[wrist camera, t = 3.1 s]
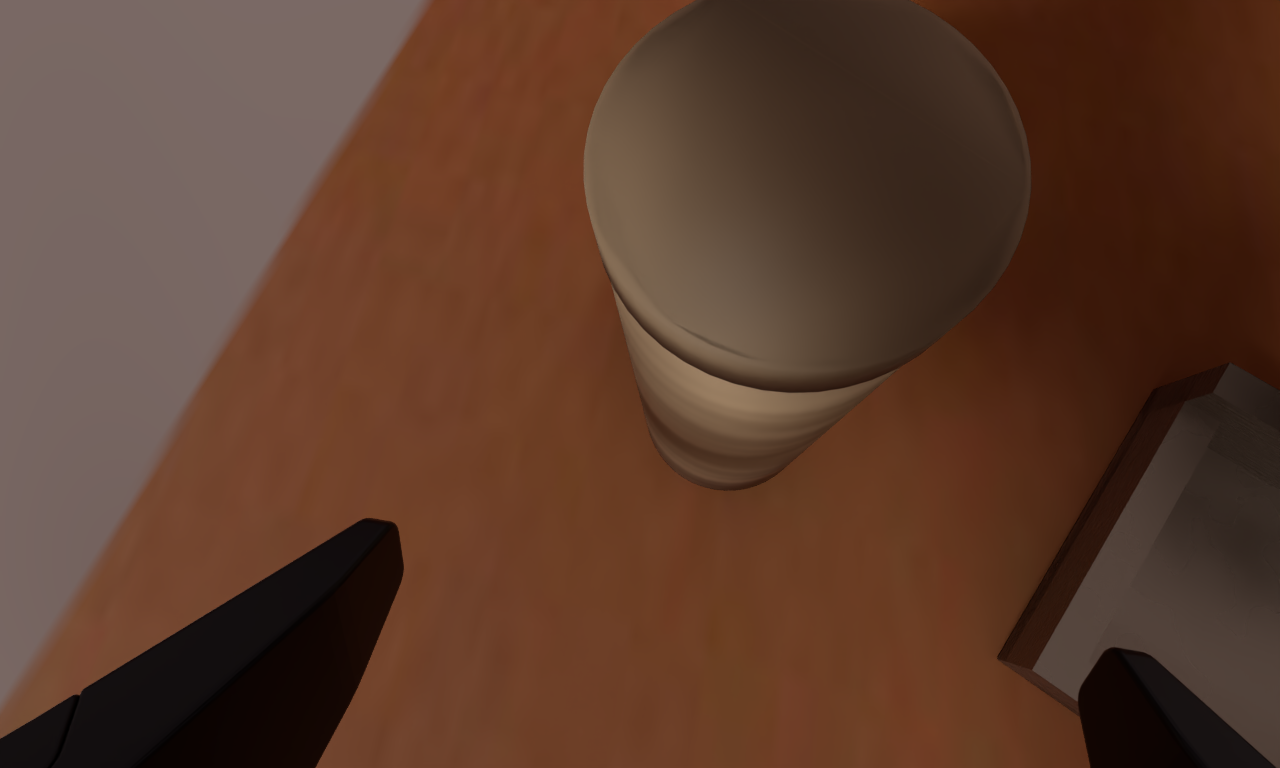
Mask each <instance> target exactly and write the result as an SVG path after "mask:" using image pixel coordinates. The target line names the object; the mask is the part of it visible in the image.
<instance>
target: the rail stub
mask: <svg viewBox="0 0 1280 768" xmlns="http://www.w3.org/2000/svg"><path fill="white" fill-rule="evenodd" d="M584 187H585V194H586V201H587V207H588V211H589V215H590V219H591V222H592V226H593V230H594V234H595V237H596V241H597V245H598V248H599V252H600V255H601V258H602V262H603V265H604V268H605V270H606V273H607V275H608V277H609V279H610V281H611V284H612V288H613V292H614V296H615V300H616V304H617V308H618V312H619V316H620V319H621V323H622V327H623V331H624V335H625V339H626V343H627V347H628V351H629V355H630V359H631V363H632V367H633V370H634V374H635V378H636V382H637V386H638V390H639V394H640V398H641V402H642V406H643V410H644V414H645V418H646V421H647V425H648V429H649V433H650V436H651V439H652V441H653V443H654V445H655V447H656V449H657V451H658V452H659V454H660V456H661V457H662V458H663V459H664V461H665V462H666V463H667V464H668V465H669V466H670V467H671V468H672V469H673V470H674V471H675V472H677V473H678V474H679V475H681V476H682V477H683V478H685V479H687V480H689V481H691V482H692V483H695V484H697V485H700V486H703V487H706V488H710V489H715V490H724V491H727V490H741V489H747V488H750V487H753V486H757V485H759V484H761V483H763V482H766V481H767V480H769V479H771V478H772V477H774V476H775V475H777V474H778V473H779V472H780V471H782V470H783V469H784V468H785V467H786V466H787V465H789V464H790V463H791V462H792V461H793V460H794V459H795V458H797V457H798V456H799V455H800V454H801V453H802V452H803V451H805V450H806V449H807V448H808V447H809V446H810V445H812V444H813V443H814V442H815V441H816V440H817V439H818V438H820V437H821V436H822V435H823V434H824V433H825V432H826V431H828V430H829V429H830V428H831V427H832V426H833V425H834V424H836V423H837V422H838V421H839V420H840V419H841V418H843V417H844V416H845V415H846V414H847V413H848V412H849V411H851V410H852V409H853V408H854V407H855V406H856V405H857V404H859V403H860V402H861V401H862V400H863V399H864V398H865V397H867V396H868V395H869V394H870V393H871V392H872V391H874V390H875V389H876V388H877V387H878V386H879V385H880V384H882V383H883V382H884V381H885V380H886V379H887V378H888V377H890V376H891V375H892V374H893V373H894V372H895V371H896V370H898V369H899V368H900V367H901V366H903V365H904V364H906V363H907V362H909V361H911V360H912V359H914V358H916V357H917V356H919V355H920V354H921V353H923V352H924V351H925V350H926V349H928V348H929V347H930V346H931V345H932V344H934V343H935V342H936V341H937V340H938V339H940V338H941V337H942V336H943V335H944V334H946V333H947V332H948V331H949V330H950V329H951V328H953V327H954V326H955V325H956V324H957V323H959V322H960V321H961V320H962V319H963V318H964V317H966V316H967V315H968V314H969V313H970V312H971V311H973V310H974V309H975V307H976V306H977V305H978V304H979V303H980V302H981V301H982V300H983V299H984V298H985V297H986V295H987V294H988V293H989V292H990V291H991V290H992V289H993V287H994V286H995V284H996V283H997V281H998V280H999V278H1000V277H1001V275H1002V274H1003V273H1004V271H1005V270H1006V268H1007V267H1008V265H1009V263H1010V261H1011V259H1012V256H1013V254H1014V252H1015V250H1016V248H1017V246H1018V244H1019V242H1020V239H1021V236H1022V232H1023V229H1024V225H1025V222H1026V219H1027V215H1028V209H1029V201H1030V194H1031V160H1030V155H1029V149H1028V143H1027V137H1026V133H1025V130H1024V127H1023V124H1022V121H1021V118H1020V115H1019V112H1018V110H1017V107H1016V105H1015V103H1014V101H1013V99H1012V97H1011V95H1010V93H1009V91H1008V89H1007V87H1006V86H1005V84H1004V83H1003V81H1002V80H1001V78H1000V77H999V75H998V74H997V72H996V71H995V69H994V68H993V66H992V65H991V64H990V63H989V62H988V60H987V59H986V58H985V57H984V56H983V55H982V54H981V53H980V51H979V50H978V49H977V48H976V47H975V46H974V45H973V44H972V43H971V42H970V41H969V40H968V39H966V38H965V37H964V36H963V35H962V34H961V33H960V32H959V31H957V30H956V29H955V28H954V27H953V26H951V25H950V24H948V23H947V22H945V21H944V20H942V19H941V18H940V17H938V16H937V15H935V14H934V13H932V12H931V11H929V10H927V9H925V8H923V7H921V6H919V5H917V4H915V3H914V2H912V1H910V0H696V1H694V2H693V3H691V4H689V5H687V6H685V7H683V8H682V9H680V10H678V11H676V12H674V13H673V14H672V15H670V16H669V17H667V18H666V19H665V20H663V21H662V22H660V23H659V24H658V25H656V26H655V27H654V28H652V29H651V30H650V31H649V32H648V33H647V34H646V35H645V36H644V37H643V38H642V39H640V40H639V41H638V42H637V43H636V44H635V45H634V46H633V48H632V49H631V50H630V51H629V52H628V53H627V55H626V56H625V57H624V58H623V59H622V61H621V62H620V63H619V64H618V66H617V67H616V69H615V70H614V72H613V74H612V75H611V77H610V78H609V80H608V81H607V83H606V84H605V87H604V89H603V91H602V93H601V95H600V97H599V100H598V102H597V104H596V106H595V109H594V112H593V115H592V118H591V122H590V125H589V128H588V132H587V139H586V145H585V152H584Z"/></svg>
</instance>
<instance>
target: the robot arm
mask: <svg viewBox="0 0 1280 768" xmlns="http://www.w3.org/2000/svg"><path fill="white" fill-rule="evenodd" d="M403 571H404V563H403V557H402V550H401V543H400V537H399V531H398V527H397V526H396V524H395V523H393V522H391V521H385V520H379V519H373V518H365V519H362V520H360V521H358V522H357V523H355V524H353V525H352V526H350V527H348V528H347V529H345V530H344V531H342V532H340V533H339V534H337V535H335V536H334V537H332V538H330V539H329V540H327V541H325V542H324V543H322V544H321V545H319V546H317V547H316V548H314V549H312V550H311V551H309V552H307V553H306V554H304V555H303V556H301V557H299V558H298V559H296V560H294V561H293V562H291V563H289V564H288V565H286V566H284V567H283V568H281V569H280V570H278V571H276V572H275V573H273V574H271V575H270V576H268V577H266V578H265V579H263V580H262V581H260V582H258V583H257V584H255V585H253V586H252V587H250V588H248V589H247V590H245V591H244V592H242V593H240V594H239V595H237V596H235V597H234V598H232V599H230V600H229V601H227V602H225V603H224V604H222V605H221V606H219V607H217V608H216V609H214V610H212V611H211V612H209V613H207V614H206V615H204V616H203V617H201V618H199V619H198V620H196V621H194V622H193V623H191V624H189V625H188V626H186V627H184V628H183V629H181V630H180V631H178V632H176V633H175V634H173V635H171V636H170V637H168V638H166V639H165V640H163V641H162V642H160V643H158V644H157V645H155V646H153V647H152V648H150V649H148V650H147V651H145V652H143V653H142V654H140V655H139V656H137V657H135V658H134V659H132V660H130V661H129V662H127V663H125V664H124V665H122V666H121V667H119V668H117V669H116V670H114V671H112V672H111V673H109V674H107V675H106V676H104V677H103V678H101V679H99V680H98V681H96V682H94V683H93V684H91V685H89V686H88V687H86V688H85V689H83V690H82V692H81V694H80V695H73V696H71V697H69V698H68V699H66V700H64V701H63V702H61V703H59V704H58V705H56V706H55V707H53V708H51V709H50V710H48V711H46V712H45V713H43V714H41V715H40V716H38V717H36V718H35V719H33V720H31V721H30V722H28V723H26V724H25V725H23V726H21V727H20V728H18V729H16V730H14V731H13V732H11V733H9V734H8V735H6V736H4V737H3V738H1V739H0V768H315V767H316V766H317V764H318V762H319V760H320V758H321V756H322V754H323V753H324V751H325V749H326V747H327V745H328V743H329V741H330V739H331V738H332V736H333V734H334V732H335V730H336V728H337V726H338V725H339V723H340V721H341V719H342V717H343V715H344V713H345V712H346V710H347V708H348V706H349V704H350V702H351V700H352V698H353V696H354V694H355V692H356V690H357V688H358V686H359V683H360V681H361V679H362V677H363V674H364V672H365V670H366V667H367V665H368V662H369V660H370V657H371V655H372V652H373V650H374V647H375V645H376V643H377V640H378V638H379V635H380V633H381V630H382V628H383V625H384V623H385V621H386V618H387V616H388V613H389V611H390V608H391V606H392V603H393V601H394V599H395V596H396V594H397V591H398V589H399V586H400V584H401V581H402V577H403ZM1078 709H1079V714H1080V719H1081V723H1082V728H1083V733H1084V738H1085V743H1086V748H1087V753H1088V758H1089V762H1090V767H1091V768H1276V767H1275V766H1274V765H1273V764H1272V763H1271V762H1270V761H1269V760H1267V759H1266V758H1265V757H1264V756H1263V755H1262V754H1261V753H1260V752H1259V751H1257V750H1256V749H1255V748H1254V747H1253V746H1252V745H1251V744H1250V743H1249V742H1247V741H1246V740H1245V739H1244V738H1243V737H1242V736H1241V735H1240V734H1239V733H1237V732H1236V731H1235V730H1234V729H1233V728H1232V727H1231V726H1230V725H1228V724H1227V723H1226V722H1225V721H1224V720H1223V719H1222V718H1221V717H1220V716H1218V715H1217V714H1216V713H1215V712H1214V711H1213V710H1212V709H1211V708H1210V707H1208V706H1207V705H1206V704H1205V703H1204V702H1203V701H1202V700H1201V699H1200V698H1198V697H1197V696H1196V695H1195V694H1194V693H1193V692H1192V691H1191V690H1190V689H1188V688H1187V687H1186V686H1185V685H1184V684H1183V683H1182V682H1181V681H1179V680H1178V679H1177V678H1176V677H1175V676H1174V675H1173V674H1172V673H1171V672H1169V671H1168V670H1167V669H1166V668H1165V667H1164V666H1163V665H1162V664H1161V663H1159V662H1158V661H1157V660H1156V659H1155V658H1153V657H1152V656H1151V655H1149V654H1147V653H1144V652H1141V651H1135V650H1130V649H1124V648H1118V647H1111V648H1109V649H1107V650H1105V651H1104V652H1103V653H1102V655H1101V656H1100V658H1099V659H1098V661H1097V662H1096V664H1095V665H1094V667H1093V668H1092V670H1091V671H1090V673H1089V674H1088V676H1087V677H1086V679H1085V680H1084V682H1083V683H1082V685H1081V687H1080V690H1079V693H1078Z"/></svg>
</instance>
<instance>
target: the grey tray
mask: <svg viewBox="0 0 1280 768" xmlns="http://www.w3.org/2000/svg"><path fill="white" fill-rule="evenodd" d="M1111 647H1118V648H1124V649H1130V650H1135V651H1141V652H1144V653H1147V654H1149V655H1151V656H1152V657H1153V658H1155V659H1156V660H1157V661H1158V662H1159V663H1161V664H1162V665H1163V666H1164V667H1165V668H1166V669H1167V670H1168V671H1169V672H1171V673H1172V674H1173V675H1174V676H1175V677H1176V678H1177V679H1178V680H1179V681H1181V682H1182V683H1183V684H1184V685H1185V686H1186V687H1187V688H1188V689H1190V690H1191V691H1192V692H1193V693H1194V694H1195V695H1196V696H1197V697H1198V698H1200V699H1201V700H1202V701H1203V702H1204V703H1205V704H1206V705H1207V706H1208V707H1210V708H1211V709H1212V710H1213V711H1214V712H1215V713H1216V714H1217V715H1218V716H1220V717H1221V718H1222V719H1223V720H1224V721H1225V722H1226V723H1227V724H1228V725H1230V726H1231V727H1232V728H1233V729H1234V730H1235V731H1236V732H1237V733H1239V734H1240V735H1241V736H1242V737H1243V738H1244V739H1245V740H1246V741H1247V742H1249V743H1250V744H1251V745H1252V746H1253V747H1254V748H1255V749H1256V750H1257V751H1259V752H1260V753H1261V754H1262V755H1263V756H1264V757H1265V758H1266V759H1267V760H1269V761H1270V762H1271V763H1272V764H1273V765H1274V766H1275V767H1276V768H1280V390H1278V389H1276V388H1274V387H1273V386H1271V385H1269V384H1267V383H1266V382H1264V381H1262V380H1260V379H1259V378H1257V377H1255V376H1253V375H1252V374H1250V373H1248V372H1246V371H1245V370H1243V369H1241V368H1239V367H1237V366H1236V365H1234V364H1232V363H1230V362H1229V363H1227V364H1224V365H1221V366H1218V367H1215V368H1213V369H1210V370H1207V371H1204V372H1201V373H1199V374H1196V375H1193V376H1190V377H1187V378H1185V379H1182V380H1179V381H1176V382H1173V383H1171V384H1168V385H1165V386H1162V387H1159V388H1156V389H1154V390H1153V392H1152V393H1151V395H1150V397H1149V399H1148V400H1147V402H1146V404H1145V405H1144V407H1143V409H1142V411H1141V412H1140V414H1139V416H1138V418H1137V419H1136V421H1135V423H1134V424H1133V426H1132V428H1131V430H1130V431H1129V433H1128V435H1127V436H1126V438H1125V440H1124V442H1123V443H1122V445H1121V447H1120V448H1119V450H1118V452H1117V454H1116V455H1115V457H1114V459H1113V460H1112V462H1111V464H1110V466H1109V467H1108V469H1107V471H1106V472H1105V474H1104V476H1103V478H1102V479H1101V481H1100V483H1099V485H1098V486H1097V488H1096V490H1095V491H1094V493H1093V495H1092V497H1091V498H1090V500H1089V502H1088V503H1087V505H1086V507H1085V509H1084V510H1083V512H1082V514H1081V515H1080V517H1079V519H1078V521H1077V522H1076V524H1075V526H1074V527H1073V529H1072V531H1071V533H1070V534H1069V536H1068V538H1067V539H1066V541H1065V543H1064V545H1063V546H1062V548H1061V550H1060V551H1059V553H1058V555H1057V557H1056V558H1055V560H1054V562H1053V564H1052V565H1051V567H1050V569H1049V570H1048V572H1047V574H1046V576H1045V577H1044V579H1043V581H1042V582H1041V584H1040V586H1039V588H1038V589H1037V591H1036V593H1035V594H1034V596H1033V598H1032V600H1031V601H1030V603H1029V605H1028V606H1027V608H1026V610H1025V612H1024V613H1023V615H1022V617H1021V618H1020V620H1019V622H1018V624H1017V625H1016V627H1015V629H1014V630H1013V632H1012V634H1011V636H1010V637H1009V639H1008V641H1007V643H1006V644H1005V646H1004V648H1003V649H1002V651H1001V653H1000V655H999V656H998V658H997V659H998V660H999V661H1001V662H1002V663H1004V664H1005V665H1007V666H1008V667H1009V668H1011V669H1012V670H1014V671H1015V672H1017V673H1018V674H1019V675H1021V676H1022V677H1024V678H1025V679H1027V680H1028V681H1029V682H1031V683H1032V684H1034V685H1035V686H1037V687H1038V688H1039V689H1041V690H1042V691H1044V692H1045V693H1047V694H1048V695H1050V696H1051V697H1052V698H1054V699H1055V700H1057V701H1058V702H1060V703H1061V704H1062V705H1064V706H1065V707H1067V708H1068V709H1070V710H1071V711H1072V712H1074V713H1075V714H1077V715H1078V716H1080V714H1079V709H1078V693H1079V690H1080V687H1081V685H1082V683H1083V682H1084V680H1085V679H1086V677H1087V676H1088V674H1089V673H1090V671H1091V670H1092V668H1093V667H1094V665H1095V664H1096V662H1097V661H1098V659H1099V658H1100V656H1101V655H1102V653H1103V652H1104V651H1105V650H1107V649H1109V648H1111Z"/></svg>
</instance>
